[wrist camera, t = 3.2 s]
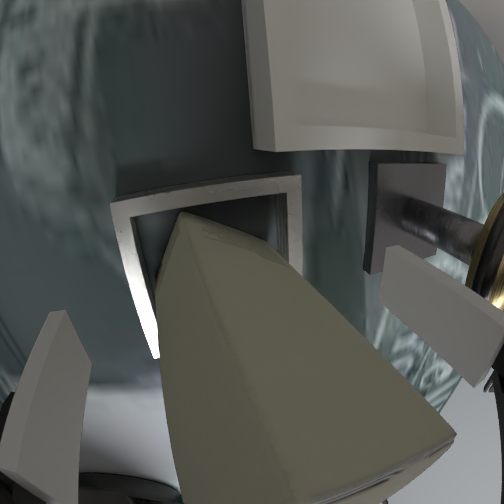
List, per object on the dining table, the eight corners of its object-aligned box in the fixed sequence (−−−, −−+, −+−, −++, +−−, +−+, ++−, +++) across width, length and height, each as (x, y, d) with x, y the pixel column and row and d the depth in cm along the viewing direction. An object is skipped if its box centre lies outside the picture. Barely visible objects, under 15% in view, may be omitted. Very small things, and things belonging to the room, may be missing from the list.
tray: (253, 149, 13) (275, 152, 10) (235, -59, 8) (251, -87, 5) (430, 148, 16) (463, 155, 14) (411, -11, 11) (439, -20, 8)
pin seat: (153, 341, 15) (154, 358, 14) (115, 196, 12) (109, 203, 11) (291, 311, 17) (301, 325, 16) (288, 170, 14) (301, 174, 13)
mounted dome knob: (360, 272, 18) (470, 361, 9) (366, 158, 15) (521, 201, 6) (429, 252, 20) (524, 310, 11) (439, 160, 17) (554, 195, 8)
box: (152, 285, 14) (180, 563, 3) (181, 205, 13) (287, 518, 2) (242, 309, 16) (356, 522, 5) (275, 240, 15) (468, 435, 4)
